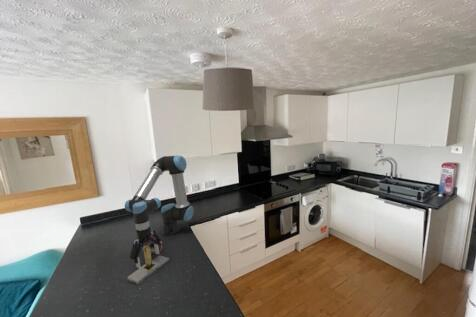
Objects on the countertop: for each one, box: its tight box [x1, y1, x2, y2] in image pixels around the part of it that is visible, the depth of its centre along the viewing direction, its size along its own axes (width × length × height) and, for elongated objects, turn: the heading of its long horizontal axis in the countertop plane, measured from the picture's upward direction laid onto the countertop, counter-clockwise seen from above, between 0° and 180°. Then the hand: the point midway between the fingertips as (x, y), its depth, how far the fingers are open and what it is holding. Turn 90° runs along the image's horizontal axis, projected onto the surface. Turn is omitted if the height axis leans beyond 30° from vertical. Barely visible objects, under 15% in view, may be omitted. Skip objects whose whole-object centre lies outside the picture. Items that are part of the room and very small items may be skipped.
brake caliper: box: [144, 235, 163, 255], centre depth 143 cm, size 11×11×12 cm
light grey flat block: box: [126, 262, 160, 285], centre depth 119 cm, size 16×9×2 cm, turn 153°
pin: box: [142, 245, 153, 270], centre depth 121 cm, size 4×4×15 cm
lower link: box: [145, 254, 170, 276], centre depth 126 cm, size 16×9×1 cm, turn 153°
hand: (148, 260), depth 122 cm, fingers open, 13 cm apart
